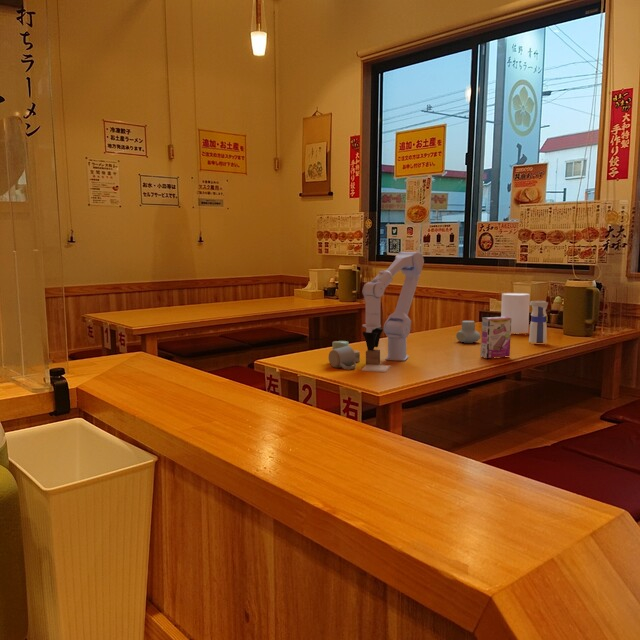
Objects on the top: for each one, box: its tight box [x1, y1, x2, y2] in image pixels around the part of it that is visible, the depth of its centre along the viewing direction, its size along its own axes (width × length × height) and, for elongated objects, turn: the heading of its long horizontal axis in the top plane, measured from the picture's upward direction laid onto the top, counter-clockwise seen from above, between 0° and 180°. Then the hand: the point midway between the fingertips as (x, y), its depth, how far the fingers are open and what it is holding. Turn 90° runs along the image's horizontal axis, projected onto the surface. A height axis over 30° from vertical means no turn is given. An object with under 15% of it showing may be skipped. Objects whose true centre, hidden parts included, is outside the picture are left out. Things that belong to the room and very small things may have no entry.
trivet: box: [361, 364, 391, 373], centre depth 221 cm, size 9×9×1 cm
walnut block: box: [365, 349, 381, 366], centre depth 229 cm, size 5×5×6 cm
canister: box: [500, 292, 531, 334], centre depth 304 cm, size 14×14×20 cm
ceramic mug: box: [328, 345, 357, 371], centre depth 224 cm, size 11×8×8 cm
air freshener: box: [455, 320, 481, 344], centre depth 277 cm, size 11×8×10 cm
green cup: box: [331, 340, 350, 351], centre depth 234 cm, size 6×6×8 cm
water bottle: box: [528, 291, 550, 344], centre depth 272 cm, size 8×9×25 cm
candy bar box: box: [480, 316, 512, 359], centre depth 240 cm, size 11×5×16 cm, turn 111°
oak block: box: [354, 350, 361, 363], centre depth 236 cm, size 4×4×4 cm
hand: (372, 348), depth 229 cm, fingers open, 7 cm apart
